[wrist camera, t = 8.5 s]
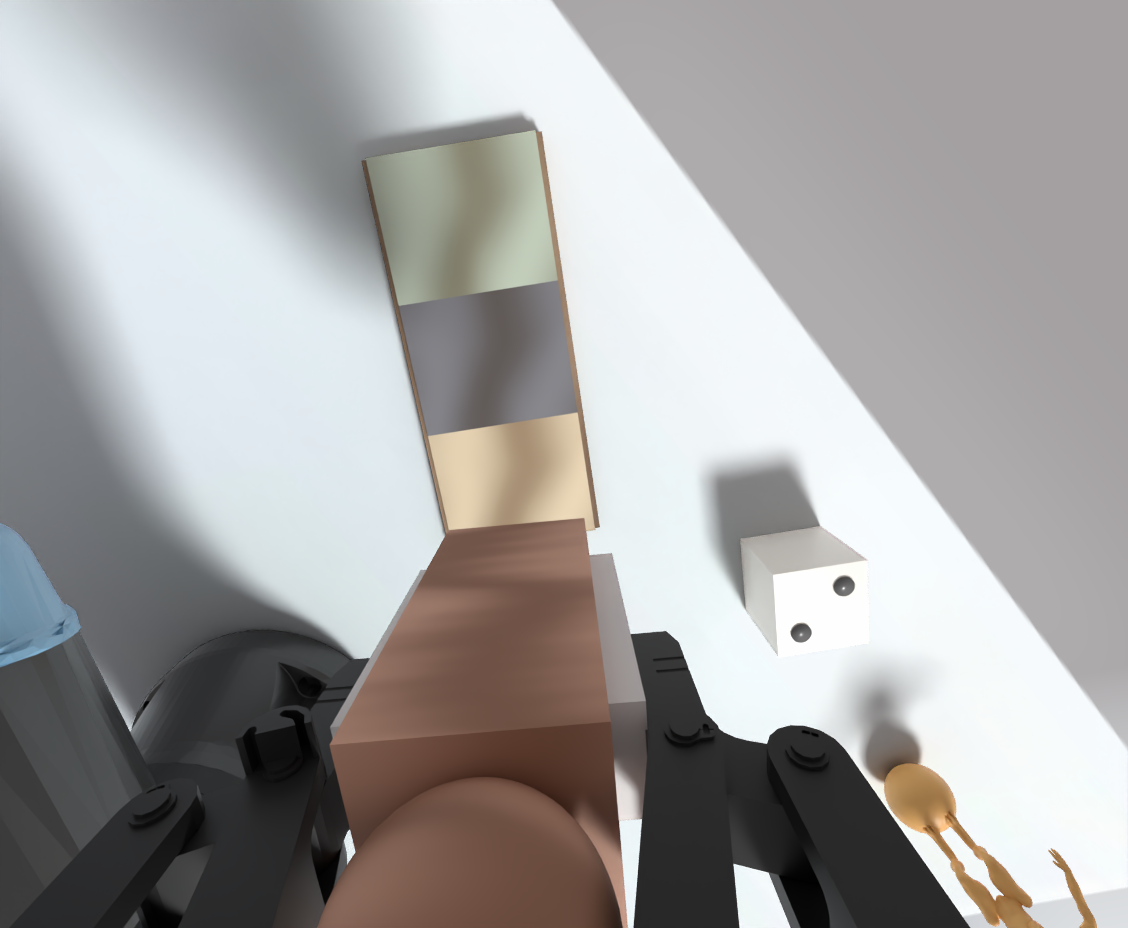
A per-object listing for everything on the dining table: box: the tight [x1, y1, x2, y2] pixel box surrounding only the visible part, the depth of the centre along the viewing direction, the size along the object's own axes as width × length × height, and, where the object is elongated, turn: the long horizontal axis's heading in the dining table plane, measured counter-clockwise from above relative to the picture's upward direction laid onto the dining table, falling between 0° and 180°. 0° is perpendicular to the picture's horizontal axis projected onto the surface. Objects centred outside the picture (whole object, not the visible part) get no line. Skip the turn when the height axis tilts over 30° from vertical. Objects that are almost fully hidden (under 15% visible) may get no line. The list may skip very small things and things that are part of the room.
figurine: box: [884, 763, 1097, 928], centre depth 31 cm, size 8×6×12 cm
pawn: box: [317, 518, 628, 928], centre depth 11 cm, size 4×4×13 cm
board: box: [362, 130, 600, 534], centre depth 29 cm, size 9×21×1 cm, turn 9°
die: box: [740, 526, 869, 657], centre depth 30 cm, size 5×5×5 cm
